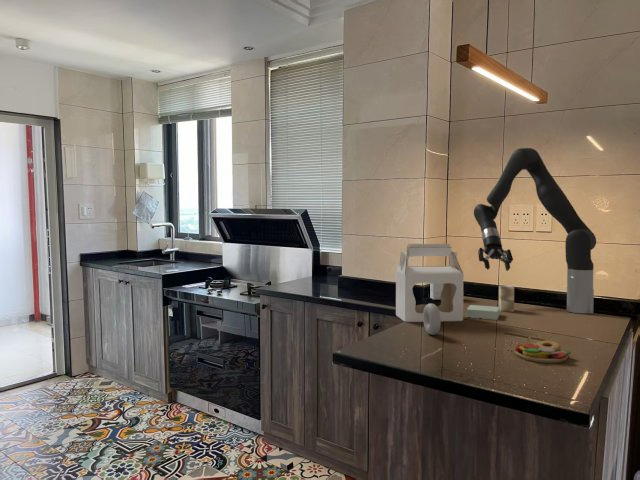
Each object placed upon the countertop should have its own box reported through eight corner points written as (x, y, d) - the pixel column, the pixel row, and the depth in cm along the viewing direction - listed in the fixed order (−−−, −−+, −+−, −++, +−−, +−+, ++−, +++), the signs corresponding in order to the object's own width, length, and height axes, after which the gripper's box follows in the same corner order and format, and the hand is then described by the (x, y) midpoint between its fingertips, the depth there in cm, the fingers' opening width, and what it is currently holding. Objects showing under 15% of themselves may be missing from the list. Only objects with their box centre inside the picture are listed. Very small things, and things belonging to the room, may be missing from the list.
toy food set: (553, 351, 133) (553, 339, 133) (581, 364, 119) (581, 352, 119) (506, 351, 132) (506, 339, 132) (528, 365, 119) (528, 352, 119)
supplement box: (452, 299, 223) (452, 268, 222) (432, 299, 223) (433, 268, 222) (447, 297, 232) (447, 266, 231) (428, 297, 232) (429, 266, 231)
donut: (421, 331, 156) (421, 301, 156) (431, 331, 156) (431, 300, 156) (431, 338, 146) (431, 306, 146) (442, 338, 147) (442, 306, 146)
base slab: (499, 315, 185) (499, 306, 185) (496, 321, 175) (497, 311, 175) (470, 313, 190) (470, 305, 190) (466, 318, 180) (466, 309, 180)
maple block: (511, 309, 197) (511, 285, 197) (513, 311, 192) (514, 287, 192) (498, 309, 198) (498, 285, 198) (500, 311, 193) (501, 286, 193)
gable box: (404, 322, 171) (404, 244, 170) (395, 315, 184) (395, 243, 183) (463, 321, 173) (464, 244, 172) (450, 314, 186) (451, 243, 185)
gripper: (478, 233, 213) (484, 263, 203) (510, 235, 213) (517, 265, 203) (473, 243, 219) (479, 273, 209) (504, 245, 219) (511, 275, 209)
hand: (498, 269), depth 206 cm, fingers open, 8 cm apart
